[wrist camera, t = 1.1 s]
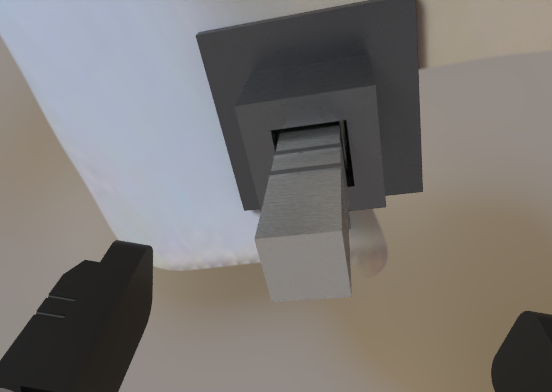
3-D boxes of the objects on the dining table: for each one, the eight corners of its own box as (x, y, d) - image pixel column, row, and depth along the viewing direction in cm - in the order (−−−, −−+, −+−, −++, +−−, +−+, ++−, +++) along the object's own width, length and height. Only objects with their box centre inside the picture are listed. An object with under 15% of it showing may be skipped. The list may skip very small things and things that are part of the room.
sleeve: (413, -9, 32) (434, 14, 25) (421, 185, 40) (438, 241, 34) (199, 32, 35) (167, 61, 29) (246, 204, 43) (229, 259, 37)
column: (340, 90, 35) (344, 228, 20) (346, 140, 37) (355, 298, 22) (285, 98, 36) (250, 236, 21) (295, 147, 38) (269, 304, 23)
